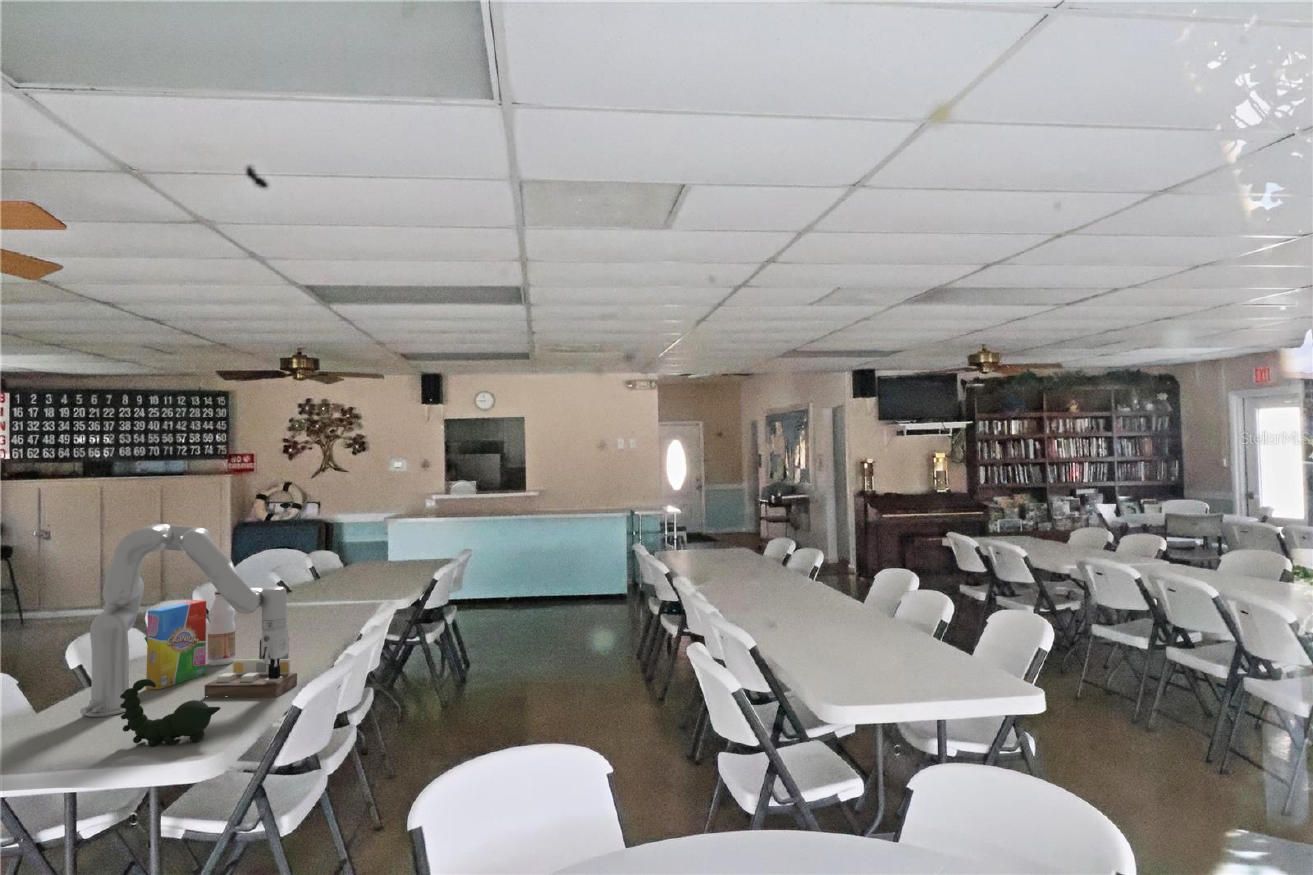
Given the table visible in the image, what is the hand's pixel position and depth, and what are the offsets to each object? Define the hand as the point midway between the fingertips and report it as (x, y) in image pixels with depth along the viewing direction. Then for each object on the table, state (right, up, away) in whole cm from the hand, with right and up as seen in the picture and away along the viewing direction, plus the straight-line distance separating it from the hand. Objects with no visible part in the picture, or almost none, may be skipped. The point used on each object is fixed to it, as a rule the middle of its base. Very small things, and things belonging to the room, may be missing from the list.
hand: (274, 678), depth 255 cm
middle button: (-8, -1, 0) cm, 8 cm away
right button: (0, -2, 0) cm, 2 cm away
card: (-8, -1, +7) cm, 11 cm away
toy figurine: (-5, -3, -46) cm, 47 cm away
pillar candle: (-10, -6, +19) cm, 22 cm away
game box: (-42, -6, +14) cm, 44 cm away
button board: (-8, -5, +1) cm, 9 cm away
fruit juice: (-40, -7, +38) cm, 56 cm away
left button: (-16, -1, 0) cm, 16 cm away
